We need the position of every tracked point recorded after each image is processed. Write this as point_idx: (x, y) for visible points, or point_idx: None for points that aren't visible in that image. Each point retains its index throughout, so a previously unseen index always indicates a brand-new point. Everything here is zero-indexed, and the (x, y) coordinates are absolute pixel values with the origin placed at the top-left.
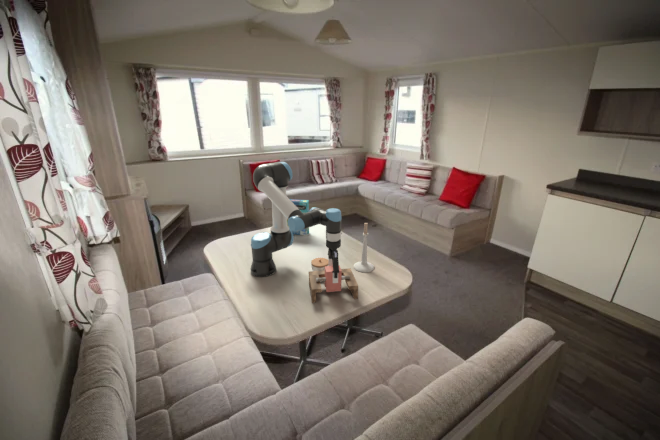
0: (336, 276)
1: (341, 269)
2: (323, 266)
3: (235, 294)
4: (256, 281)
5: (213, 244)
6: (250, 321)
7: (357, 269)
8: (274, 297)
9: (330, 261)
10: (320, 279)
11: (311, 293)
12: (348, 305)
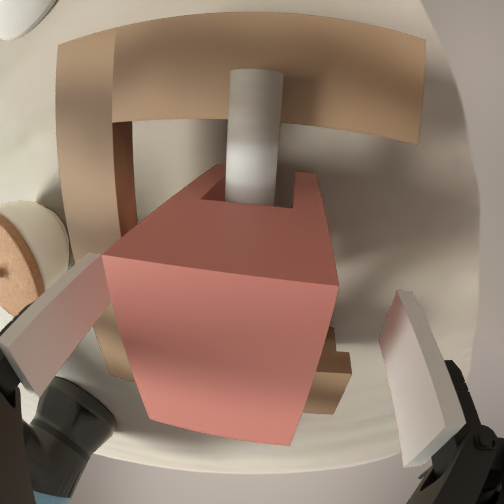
0: (459, 391)
1: (62, 134)
2: (32, 264)
3: (207, 470)
4: (141, 434)
5: None
6: (341, 466)
7: (39, 13)
8: None
9: (47, 356)
10: None
11: None
12: (433, 157)
